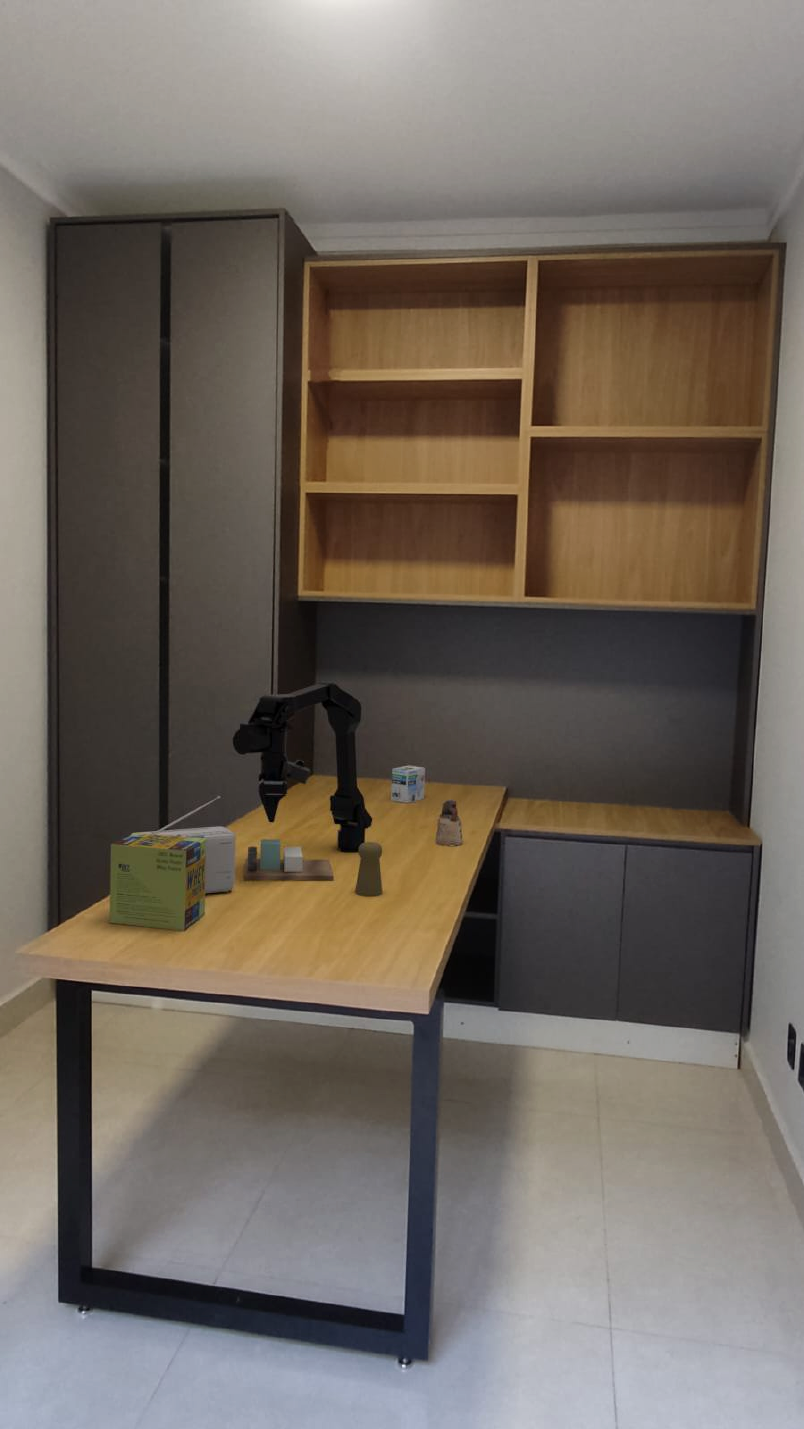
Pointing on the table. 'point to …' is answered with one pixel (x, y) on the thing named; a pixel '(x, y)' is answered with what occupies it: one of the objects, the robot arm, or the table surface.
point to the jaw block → (270, 854)
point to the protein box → (158, 881)
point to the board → (310, 871)
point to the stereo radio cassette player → (211, 852)
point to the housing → (292, 859)
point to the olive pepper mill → (369, 870)
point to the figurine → (449, 825)
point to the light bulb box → (408, 784)
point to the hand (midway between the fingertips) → (271, 817)
